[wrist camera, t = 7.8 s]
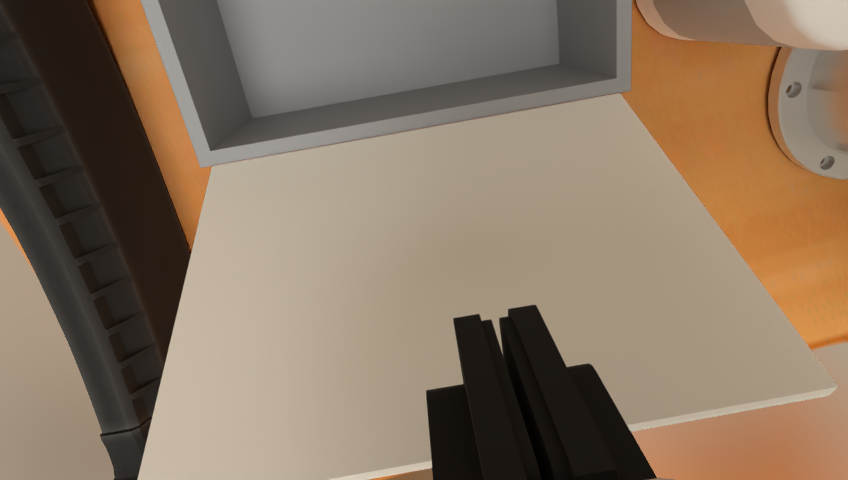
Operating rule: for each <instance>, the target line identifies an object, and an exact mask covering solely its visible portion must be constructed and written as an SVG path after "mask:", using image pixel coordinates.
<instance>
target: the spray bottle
mask: <svg viewBox="0 0 848 480" xmlns="http://www.w3.org/2000/svg"><path fill="white" fill-rule="evenodd" d="M636 3H637V7H638V8H639V10H640V12H641V13H642V15H643V17H644V19H645V20H646V22H647V23H648V24H649V25H650V26H651V27H653V28H654V29H655V30H656V31H658V32H659V33H660V34H662V35H665V36H668V37H672V38H675V39H679V40H693V41H707V42H721V43H734V44H748V45H762V46H776V47H790V48H803V49H817V50H831V51H840V50H848V0H636Z"/></svg>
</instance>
